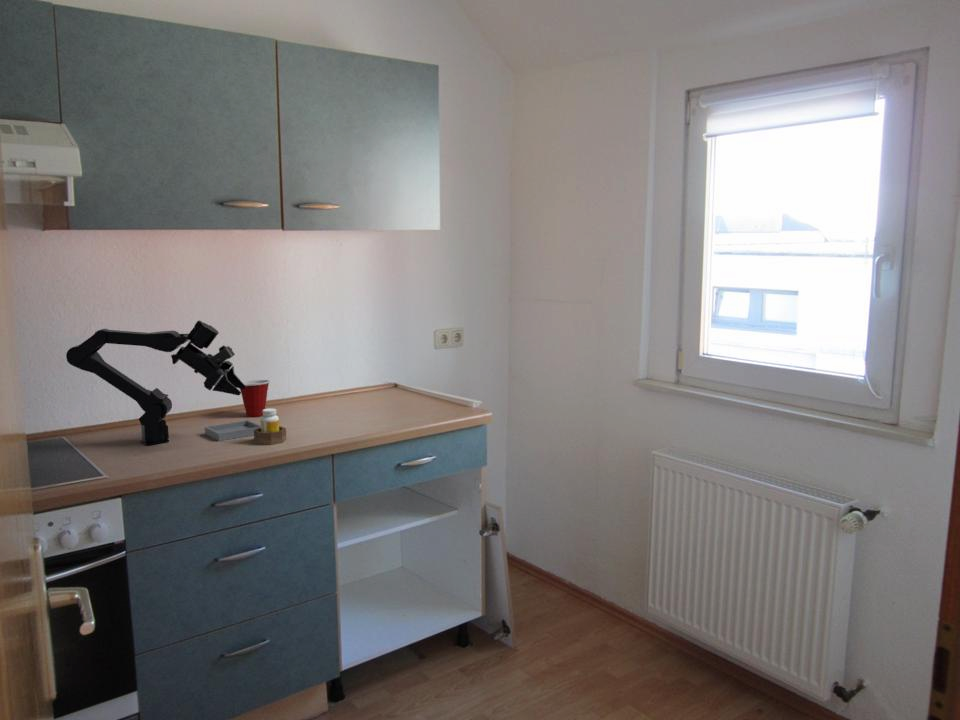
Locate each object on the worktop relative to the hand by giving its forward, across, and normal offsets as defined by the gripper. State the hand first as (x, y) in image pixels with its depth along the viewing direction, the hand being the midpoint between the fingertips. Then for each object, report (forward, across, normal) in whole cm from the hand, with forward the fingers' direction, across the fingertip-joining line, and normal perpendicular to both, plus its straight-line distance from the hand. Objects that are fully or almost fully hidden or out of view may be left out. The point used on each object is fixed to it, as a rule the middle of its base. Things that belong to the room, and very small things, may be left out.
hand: (242, 391), depth 230 cm
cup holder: (+15, -3, +7) cm, 17 cm away
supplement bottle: (+16, -3, +7) cm, 17 cm away
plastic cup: (+8, +32, +13) cm, 35 cm away
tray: (+6, +7, +14) cm, 17 cm away
